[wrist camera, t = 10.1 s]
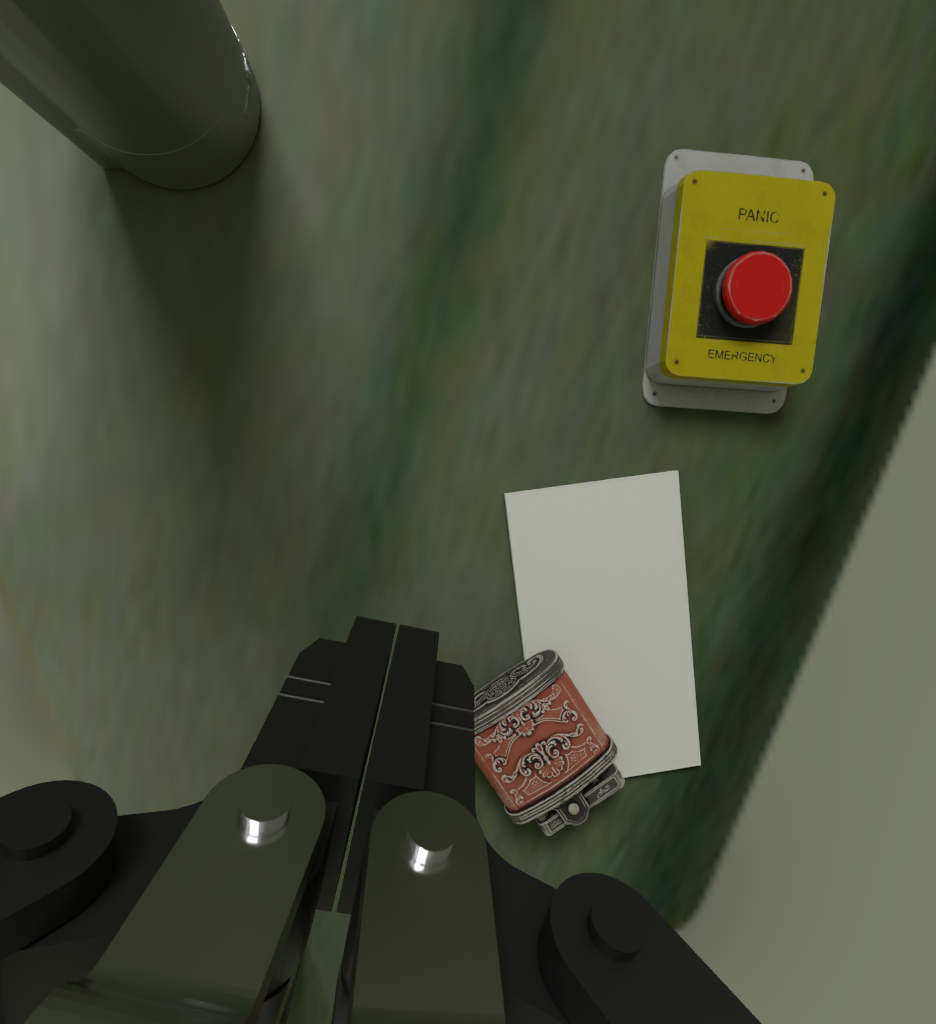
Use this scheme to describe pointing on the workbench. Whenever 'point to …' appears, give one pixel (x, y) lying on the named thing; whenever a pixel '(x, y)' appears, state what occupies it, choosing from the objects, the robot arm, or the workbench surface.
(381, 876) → the robot arm
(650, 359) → the emergency button
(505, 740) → the lighter
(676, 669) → the mat
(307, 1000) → the workbench surface
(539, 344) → the workbench surface
